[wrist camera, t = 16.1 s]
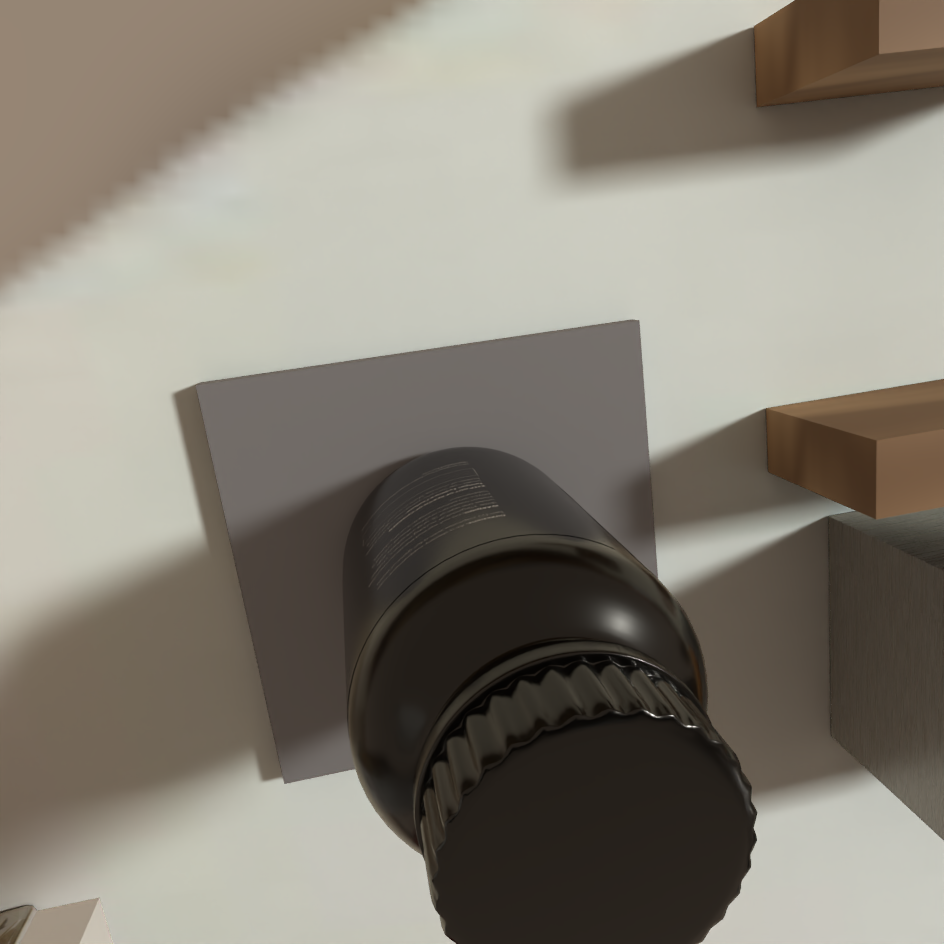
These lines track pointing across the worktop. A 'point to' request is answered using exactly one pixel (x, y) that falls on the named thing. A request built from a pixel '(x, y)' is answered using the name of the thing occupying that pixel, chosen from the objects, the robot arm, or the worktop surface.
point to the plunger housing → (890, 652)
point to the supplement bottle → (535, 713)
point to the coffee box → (15, 924)
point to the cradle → (880, 411)
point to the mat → (378, 455)
